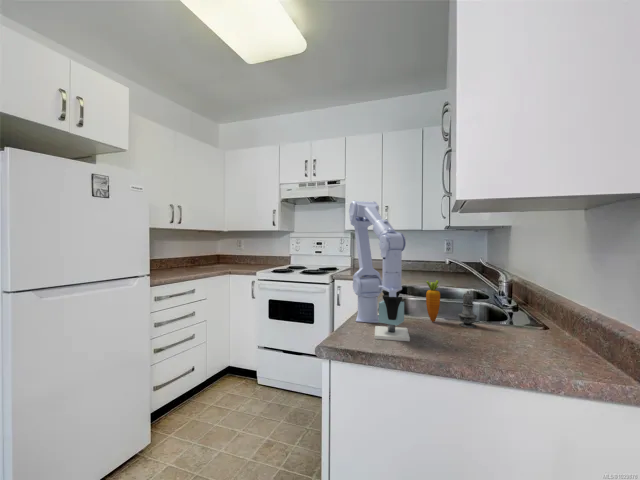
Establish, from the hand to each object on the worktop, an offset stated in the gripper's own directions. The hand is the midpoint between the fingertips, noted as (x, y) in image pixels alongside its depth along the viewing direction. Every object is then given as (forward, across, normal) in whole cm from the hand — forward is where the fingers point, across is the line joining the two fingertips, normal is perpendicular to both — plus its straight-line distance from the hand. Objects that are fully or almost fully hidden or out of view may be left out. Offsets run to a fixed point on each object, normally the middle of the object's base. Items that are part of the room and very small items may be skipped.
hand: (391, 316), depth 93 cm
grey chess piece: (+6, -16, +26) cm, 31 cm away
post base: (+6, 0, 0) cm, 6 cm away
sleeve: (+2, 0, 0) cm, 2 cm away
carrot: (+6, -18, +15) cm, 24 cm away
